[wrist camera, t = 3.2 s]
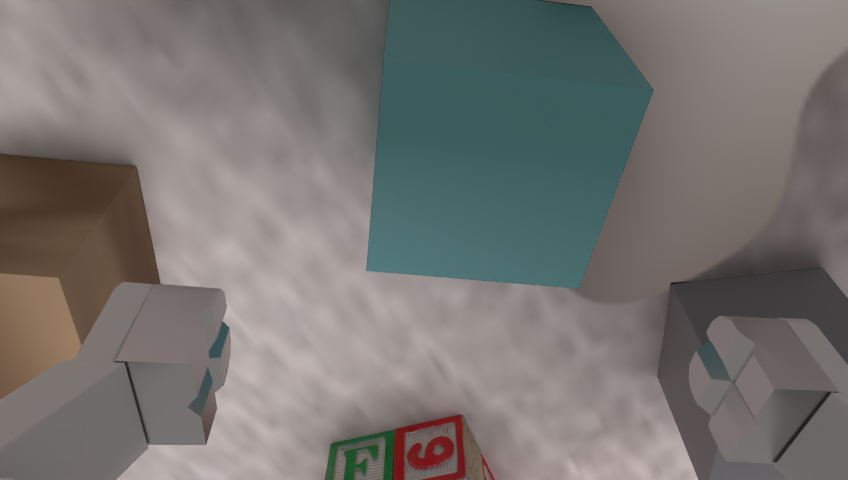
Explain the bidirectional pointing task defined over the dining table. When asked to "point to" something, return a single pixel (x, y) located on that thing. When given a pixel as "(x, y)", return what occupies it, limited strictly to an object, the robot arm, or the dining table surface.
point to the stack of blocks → (411, 454)
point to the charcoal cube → (686, 333)
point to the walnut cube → (63, 256)
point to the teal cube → (499, 139)
